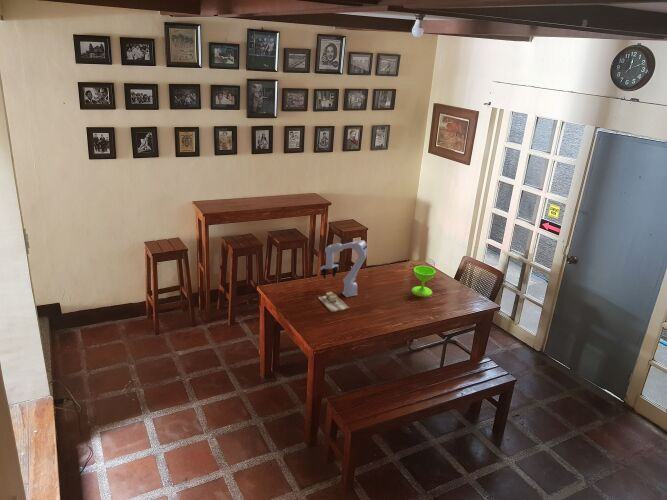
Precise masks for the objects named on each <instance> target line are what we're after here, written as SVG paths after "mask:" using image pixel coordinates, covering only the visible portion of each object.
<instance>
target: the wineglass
mask: <svg viewBox="0 0 667 500" xmlns="http://www.w3.org/2000/svg"><path fill="white" fill-rule="evenodd" d="M413 272H414V275H415V277H416V279H418V280H419V281H421V285H420V286H414V287H412V288H411V290H410V291H411V293H412V294H413V295H415V296H418V297H424V298H425V297H430V296H432V295H433V290H432V289H430V288H429V287H427V286H425V282H427V281H430V280H432V279H433V278H434V276H435V274H436V270H435V269H434V268H433V267H431V266H427V265H417V266H415V267H414V268H413Z"/></svg>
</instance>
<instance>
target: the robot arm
mask: <svg viewBox="0 0 667 500" xmlns="http://www.w3.org/2000/svg"><path fill="white" fill-rule="evenodd" d="M368 246H369V245H368V243H367V242H366V241H365V240H364V239H361V240H355V241H352V242H347V243H343V244H342V243H341V242H340V243H339V242H337V243H335V244H329V245H328V246H326V247H325V249H324V251H325V254H326V255H325V265H322V266H320V267H319V270H320V272H321V273H322V278H323V279H324V280H325V279H326V277H327V276H326V274H327V271H326V270H329V269H330V270H331V269H332V277H333V278H335V276H336V273H337V272H338V270H339V266H340V265H339V264H337V263H336V264H335V263H334V261H335V260H334V259H335V258H334V257H335V253H339V252H342V251H343V250H345V249H346V250H347V249H352V250H353V251H354V252H355V253H356V254H357V256H358V257H357V258H356V260H355V262H354V264H353V265H352V267H351V269H350V271H349V272H348V274H346V276H344V277H343V280H342V282H343V285H344V286H343V291H342V292H341V294H342V295H343V296H344V297H345V298H350V297H354V296H358V284H357V282H356V279H357V275H358V271H360V269H361V267H362V265H363V263H364V262H365V260H366V258H367V256H368Z"/></svg>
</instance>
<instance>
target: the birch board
mask: <svg viewBox="0 0 667 500" xmlns="http://www.w3.org/2000/svg"><path fill="white" fill-rule="evenodd" d="M333 294H334V295H335V296H336V297H337V298H336V302H332V303H330V302H329V300H328V299H327V298H326V295H323V296H318V297H317V299H318V300H319V302H321V304H322V305H324V306H325V308H326V309H327V310H328V311H330V313H335V312H339V311H344V310H349V309H350V307H349V305H347V304H346V303H345V302H344V301H343V300H342V299H341V298H340V297H339V296H338V295H337V294H336V293H333Z"/></svg>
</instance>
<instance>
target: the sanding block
mask: <svg viewBox="0 0 667 500" xmlns="http://www.w3.org/2000/svg"><path fill="white" fill-rule="evenodd" d="M334 294H335V293H334V292H333V291H329V292H326V293H325V296H326V298H327V299H328V300H329V302H330V303H332V302H336V298H337V297H336V296H335V295H334Z"/></svg>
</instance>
